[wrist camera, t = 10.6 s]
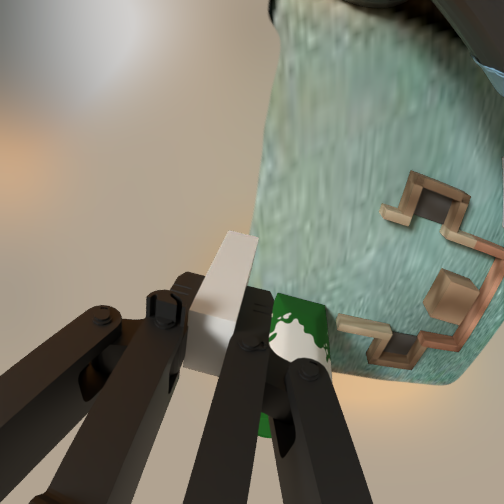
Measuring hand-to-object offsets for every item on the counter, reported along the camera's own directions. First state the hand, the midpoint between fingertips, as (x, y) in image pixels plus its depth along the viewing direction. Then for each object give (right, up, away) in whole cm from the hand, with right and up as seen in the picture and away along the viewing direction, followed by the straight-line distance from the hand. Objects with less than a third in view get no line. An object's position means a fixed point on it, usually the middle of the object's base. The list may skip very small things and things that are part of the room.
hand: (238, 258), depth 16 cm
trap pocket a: (+24, +7, +21) cm, 32 cm away
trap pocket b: (+24, -15, +31) cm, 42 cm away
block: (+30, -5, +26) cm, 40 cm away
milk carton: (+7, -9, +31) cm, 33 cm away
